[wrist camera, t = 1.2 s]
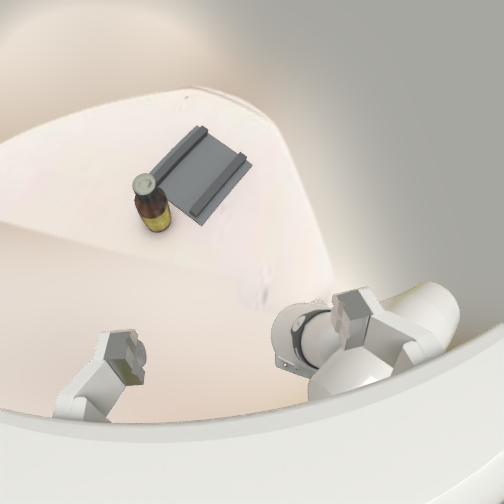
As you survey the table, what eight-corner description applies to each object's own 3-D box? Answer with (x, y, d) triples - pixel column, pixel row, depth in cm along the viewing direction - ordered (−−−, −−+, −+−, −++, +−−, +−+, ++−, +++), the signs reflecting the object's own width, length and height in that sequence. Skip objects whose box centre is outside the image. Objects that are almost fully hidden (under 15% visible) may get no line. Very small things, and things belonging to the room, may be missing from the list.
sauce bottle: (177, 219, 64) (173, 184, 44) (157, 238, 62) (145, 211, 43) (157, 200, 63) (147, 160, 44) (138, 219, 61) (120, 186, 42)
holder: (252, 165, 70) (254, 160, 67) (201, 226, 64) (202, 222, 62) (196, 126, 68) (197, 120, 66) (143, 181, 63) (141, 175, 60)
